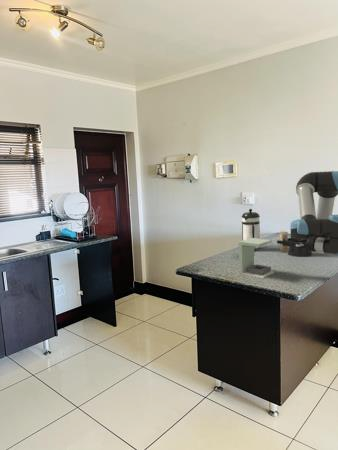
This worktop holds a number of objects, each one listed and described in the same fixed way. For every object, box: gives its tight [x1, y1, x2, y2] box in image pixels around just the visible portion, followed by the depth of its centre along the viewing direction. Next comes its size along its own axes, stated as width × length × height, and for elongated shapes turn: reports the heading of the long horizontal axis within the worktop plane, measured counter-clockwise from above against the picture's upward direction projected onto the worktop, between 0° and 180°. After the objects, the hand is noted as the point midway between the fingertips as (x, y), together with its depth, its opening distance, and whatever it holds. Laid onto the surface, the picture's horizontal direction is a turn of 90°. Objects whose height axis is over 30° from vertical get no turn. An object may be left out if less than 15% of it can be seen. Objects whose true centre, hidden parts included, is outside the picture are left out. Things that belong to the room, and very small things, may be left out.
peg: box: [279, 231, 289, 254], centre depth 187 cm, size 4×4×11 cm
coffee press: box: [241, 208, 262, 252], centre depth 251 cm, size 17×16×30 cm
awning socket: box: [238, 238, 276, 279], centre depth 194 cm, size 15×13×18 cm
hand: (274, 240), depth 191 cm, fingers closed on peg, 4 cm apart
